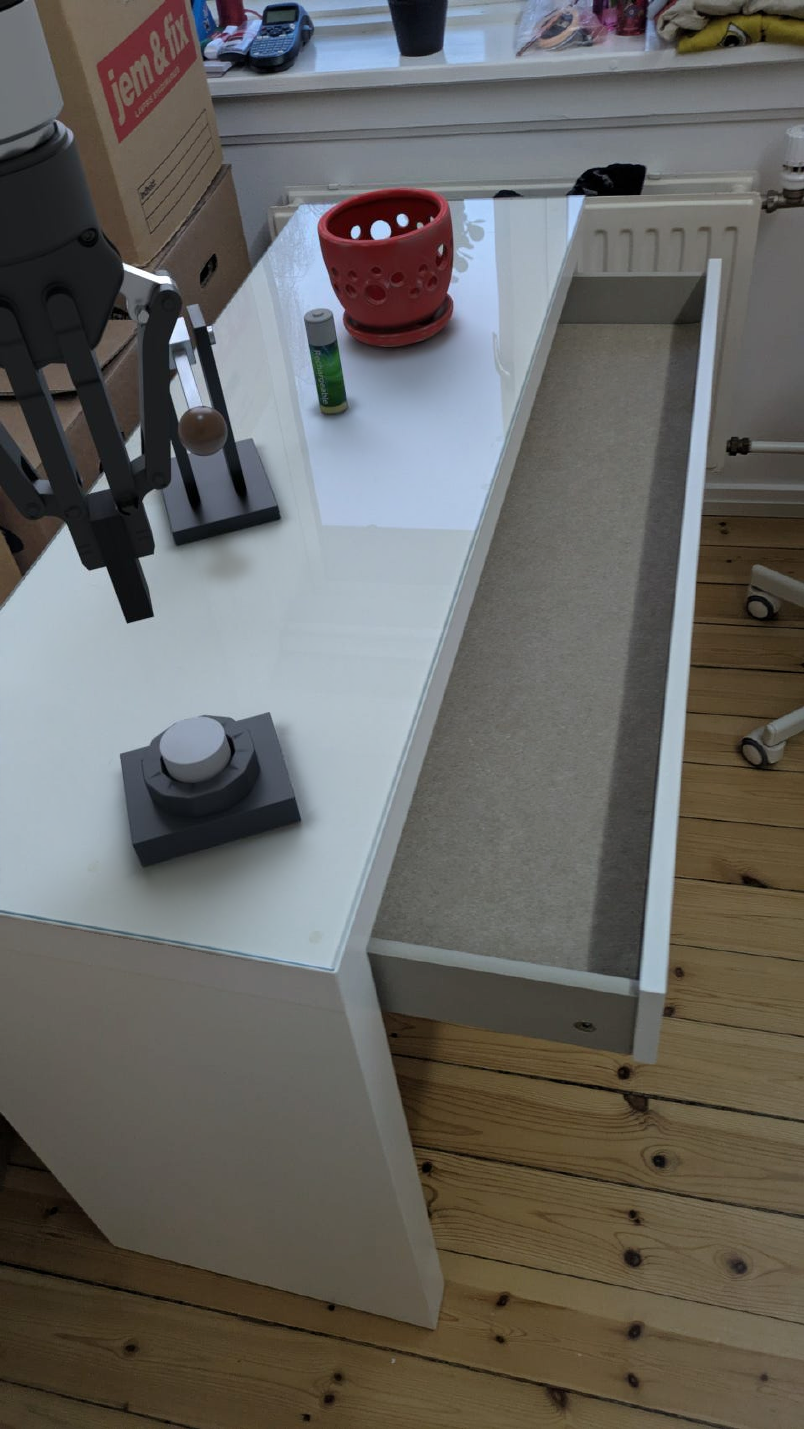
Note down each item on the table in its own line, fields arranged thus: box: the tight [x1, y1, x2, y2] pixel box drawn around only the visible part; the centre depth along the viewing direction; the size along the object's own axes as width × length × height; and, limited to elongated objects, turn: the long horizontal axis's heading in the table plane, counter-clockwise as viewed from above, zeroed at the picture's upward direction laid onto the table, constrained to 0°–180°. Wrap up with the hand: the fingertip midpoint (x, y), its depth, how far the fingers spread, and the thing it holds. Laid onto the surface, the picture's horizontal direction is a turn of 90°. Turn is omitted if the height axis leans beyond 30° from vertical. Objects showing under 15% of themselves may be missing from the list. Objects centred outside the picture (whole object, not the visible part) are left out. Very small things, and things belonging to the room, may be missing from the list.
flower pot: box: [316, 187, 455, 348], centre depth 110 cm, size 13×13×12 cm
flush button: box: [160, 716, 231, 783], centre depth 67 cm, size 4×4×2 cm
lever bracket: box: [136, 303, 282, 546], centre depth 90 cm, size 12×9×16 cm
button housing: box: [119, 711, 302, 868], centre depth 68 cm, size 10×8×4 cm
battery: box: [303, 307, 349, 416], centre depth 101 cm, size 3×3×10 cm
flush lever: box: [169, 316, 228, 456], centre depth 83 cm, size 13×4×4 cm, turn 16°
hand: (137, 605), depth 59 cm, fingers closed
